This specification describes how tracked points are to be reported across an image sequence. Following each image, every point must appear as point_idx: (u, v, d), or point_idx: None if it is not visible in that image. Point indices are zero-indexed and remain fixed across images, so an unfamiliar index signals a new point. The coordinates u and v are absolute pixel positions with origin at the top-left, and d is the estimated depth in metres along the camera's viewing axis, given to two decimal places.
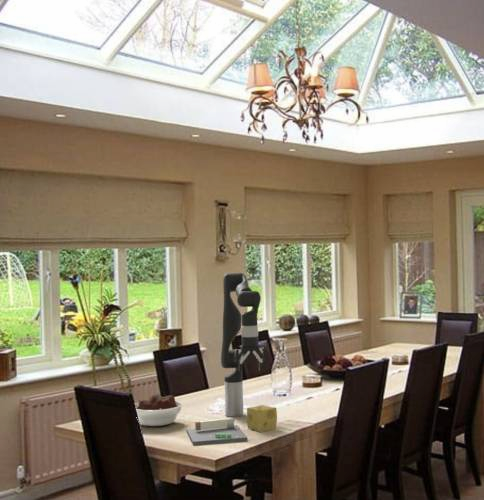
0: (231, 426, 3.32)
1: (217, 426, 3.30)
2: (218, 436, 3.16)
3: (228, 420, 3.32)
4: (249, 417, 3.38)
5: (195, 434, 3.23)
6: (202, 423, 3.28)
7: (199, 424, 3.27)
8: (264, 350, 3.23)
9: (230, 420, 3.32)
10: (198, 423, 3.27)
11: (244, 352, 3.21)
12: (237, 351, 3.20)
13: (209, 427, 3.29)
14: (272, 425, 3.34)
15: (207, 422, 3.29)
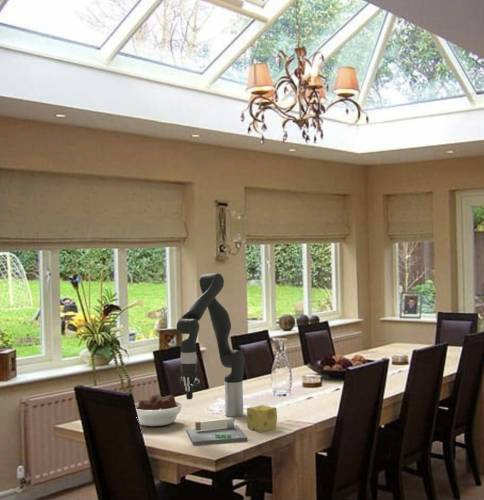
0: (231, 426, 3.32)
1: (217, 426, 3.30)
2: (218, 436, 3.16)
3: (228, 420, 3.32)
4: (249, 417, 3.38)
5: (195, 434, 3.23)
6: (202, 423, 3.28)
7: (199, 424, 3.27)
8: None
9: (230, 420, 3.32)
10: (198, 423, 3.27)
11: None
12: None
13: (209, 427, 3.29)
14: (272, 425, 3.34)
15: (207, 422, 3.29)
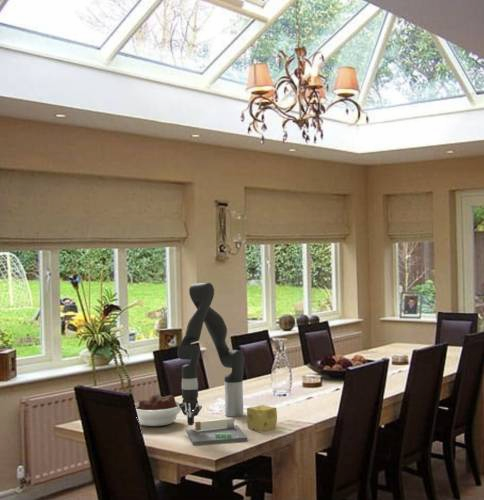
0: (231, 426, 3.32)
1: (217, 426, 3.30)
2: (218, 436, 3.16)
3: (228, 420, 3.32)
4: (249, 417, 3.38)
5: (195, 434, 3.23)
6: (202, 423, 3.28)
7: (199, 424, 3.27)
8: None
9: (230, 420, 3.32)
10: (198, 423, 3.27)
11: None
12: None
13: (209, 427, 3.29)
14: (272, 425, 3.34)
15: (207, 422, 3.29)
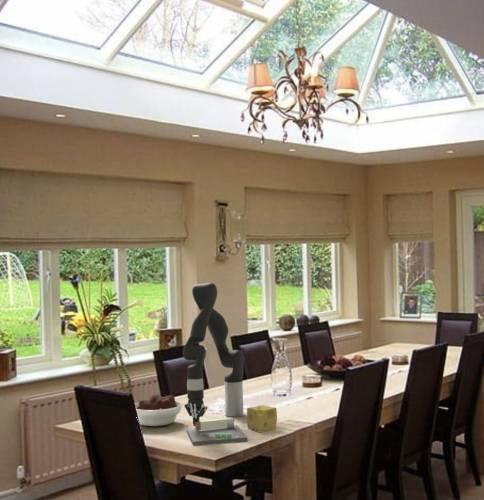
0: (231, 426, 3.32)
1: (217, 426, 3.30)
2: (218, 436, 3.16)
3: (228, 420, 3.32)
4: (249, 417, 3.38)
5: (195, 434, 3.23)
6: (202, 423, 3.28)
7: (199, 424, 3.27)
8: None
9: (230, 420, 3.32)
10: (198, 423, 3.27)
11: None
12: None
13: (209, 427, 3.29)
14: (272, 425, 3.34)
15: (207, 422, 3.29)
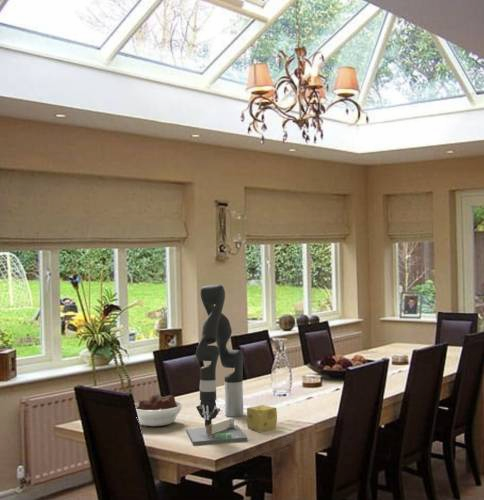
0: (233, 426, 3.33)
1: (222, 427, 3.28)
2: (218, 436, 3.16)
3: (230, 420, 3.32)
4: (249, 417, 3.38)
5: (195, 434, 3.23)
6: (213, 426, 3.22)
7: (211, 427, 3.21)
8: None
9: (232, 420, 3.32)
10: (210, 426, 3.21)
11: None
12: None
13: (217, 429, 3.25)
14: (272, 425, 3.34)
15: (216, 424, 3.24)
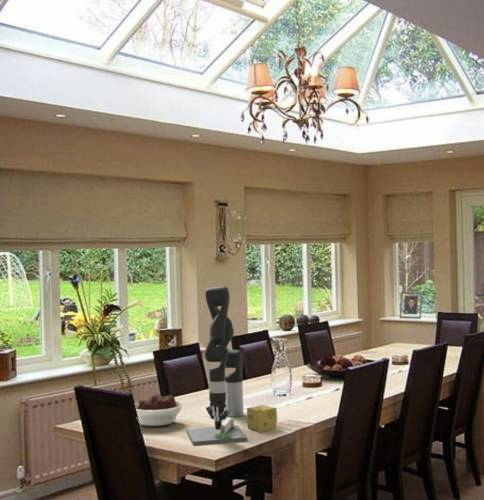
0: (233, 425, 3.33)
1: (228, 427, 3.27)
2: (218, 436, 3.16)
3: (232, 420, 3.32)
4: (249, 417, 3.38)
5: (195, 434, 3.23)
6: (225, 426, 3.20)
7: (224, 428, 3.19)
8: None
9: (233, 419, 3.33)
10: (224, 427, 3.18)
11: None
12: None
13: (227, 430, 3.23)
14: (272, 425, 3.34)
15: (226, 425, 3.22)
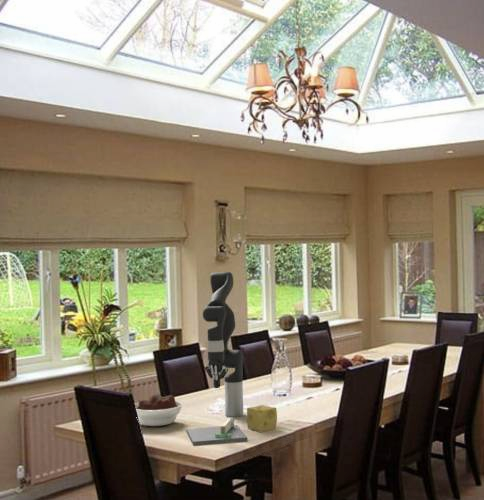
0: (233, 425, 3.33)
1: (228, 427, 3.27)
2: (218, 436, 3.16)
3: (232, 420, 3.32)
4: (249, 417, 3.38)
5: (195, 434, 3.23)
6: (225, 426, 3.20)
7: (224, 428, 3.19)
8: None
9: (233, 419, 3.33)
10: (224, 427, 3.18)
11: None
12: None
13: (227, 430, 3.23)
14: (272, 425, 3.34)
15: (226, 425, 3.22)
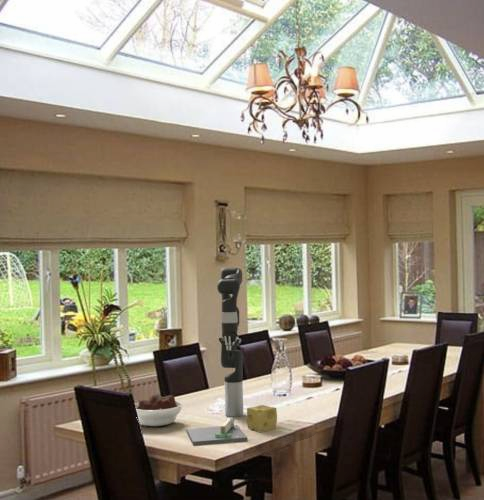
0: (233, 425, 3.33)
1: (228, 427, 3.27)
2: (218, 436, 3.16)
3: (232, 420, 3.32)
4: (249, 417, 3.38)
5: (195, 434, 3.23)
6: (225, 426, 3.20)
7: (224, 428, 3.19)
8: None
9: (233, 419, 3.33)
10: (224, 427, 3.18)
11: None
12: None
13: (227, 430, 3.23)
14: (272, 425, 3.34)
15: (226, 425, 3.22)
